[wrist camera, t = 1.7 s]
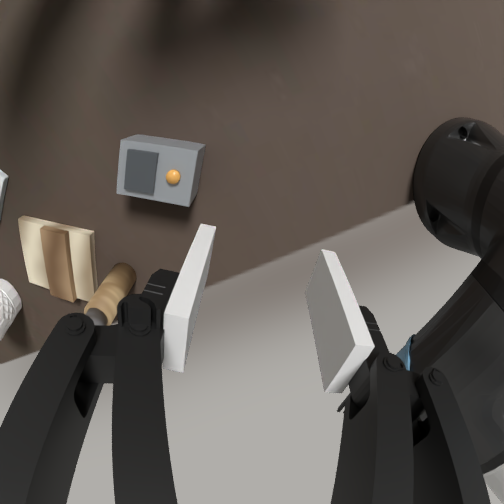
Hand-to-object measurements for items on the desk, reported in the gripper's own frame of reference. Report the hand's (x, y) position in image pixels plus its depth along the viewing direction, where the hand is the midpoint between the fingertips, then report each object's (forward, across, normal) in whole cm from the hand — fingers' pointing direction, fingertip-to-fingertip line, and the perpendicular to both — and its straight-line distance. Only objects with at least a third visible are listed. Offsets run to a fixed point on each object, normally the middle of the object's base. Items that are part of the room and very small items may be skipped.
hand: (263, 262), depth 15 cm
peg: (+15, +14, +14) cm, 24 cm away
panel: (+15, +24, +14) cm, 31 cm away
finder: (+15, +9, 0) cm, 18 cm away
